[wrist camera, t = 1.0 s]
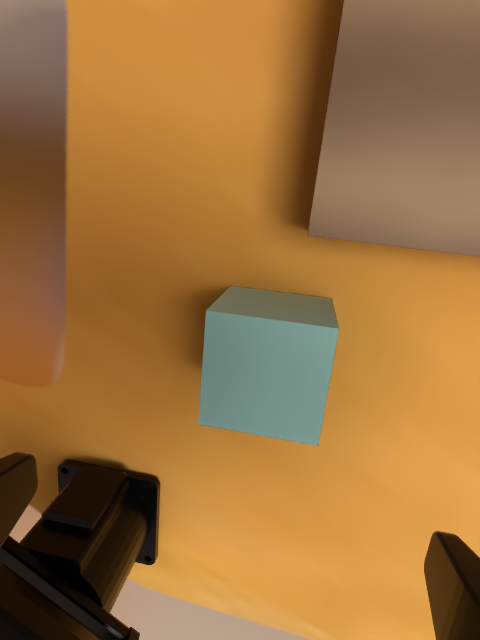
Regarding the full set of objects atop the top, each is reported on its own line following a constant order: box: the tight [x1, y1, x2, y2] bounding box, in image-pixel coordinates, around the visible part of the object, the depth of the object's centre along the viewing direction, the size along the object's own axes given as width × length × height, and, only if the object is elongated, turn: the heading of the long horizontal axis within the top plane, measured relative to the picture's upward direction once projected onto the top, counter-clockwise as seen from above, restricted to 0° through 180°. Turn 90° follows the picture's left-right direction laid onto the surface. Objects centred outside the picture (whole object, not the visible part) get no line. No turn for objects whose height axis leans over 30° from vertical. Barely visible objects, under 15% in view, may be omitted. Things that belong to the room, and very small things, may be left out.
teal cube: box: [198, 286, 339, 446], centre depth 18 cm, size 5×5×5 cm
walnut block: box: [308, 0, 480, 257], centre depth 14 cm, size 11×10×4 cm
